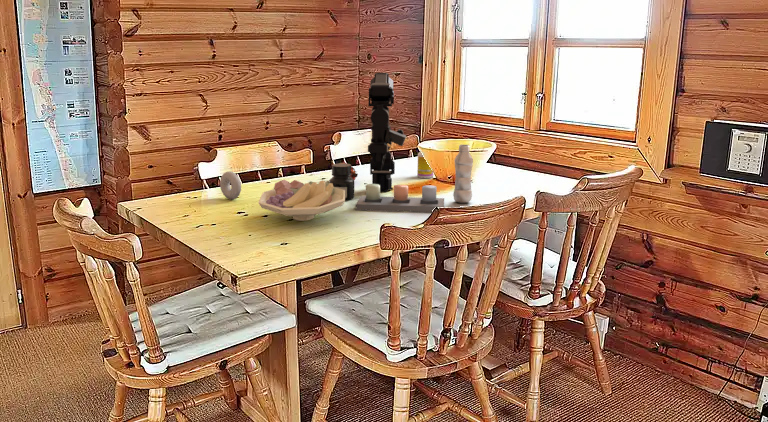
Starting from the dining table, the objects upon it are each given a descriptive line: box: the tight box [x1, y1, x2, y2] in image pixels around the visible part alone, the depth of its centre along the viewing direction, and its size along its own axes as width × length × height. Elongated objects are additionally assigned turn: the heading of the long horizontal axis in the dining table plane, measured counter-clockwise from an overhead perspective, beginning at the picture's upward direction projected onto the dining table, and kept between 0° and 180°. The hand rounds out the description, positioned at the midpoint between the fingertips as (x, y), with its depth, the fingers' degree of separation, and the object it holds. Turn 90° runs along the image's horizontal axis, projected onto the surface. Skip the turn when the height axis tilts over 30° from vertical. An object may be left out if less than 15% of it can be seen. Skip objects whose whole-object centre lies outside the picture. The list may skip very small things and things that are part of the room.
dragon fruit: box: [344, 162, 359, 181], centre depth 267 cm, size 8×8×12 cm
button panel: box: [355, 195, 445, 213], centre depth 230 cm, size 29×12×2 cm, turn 84°
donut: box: [219, 171, 242, 200], centre depth 238 cm, size 10×4×10 cm, turn 48°
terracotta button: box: [393, 184, 409, 201], centre depth 229 cm, size 5×5×4 cm
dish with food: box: [257, 179, 346, 222], centre depth 214 cm, size 28×28×14 cm
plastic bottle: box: [452, 144, 474, 204], centre depth 234 cm, size 6×7×20 cm
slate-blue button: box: [421, 184, 438, 201], centre depth 228 cm, size 5×5×4 cm
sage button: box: [365, 183, 381, 200], centre depth 230 cm, size 5×5×4 cm
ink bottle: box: [328, 162, 355, 201], centre depth 240 cm, size 10×9×12 cm
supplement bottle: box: [416, 144, 435, 179], centre depth 277 cm, size 7×7×13 cm
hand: (380, 169), depth 229 cm, fingers open, 5 cm apart
